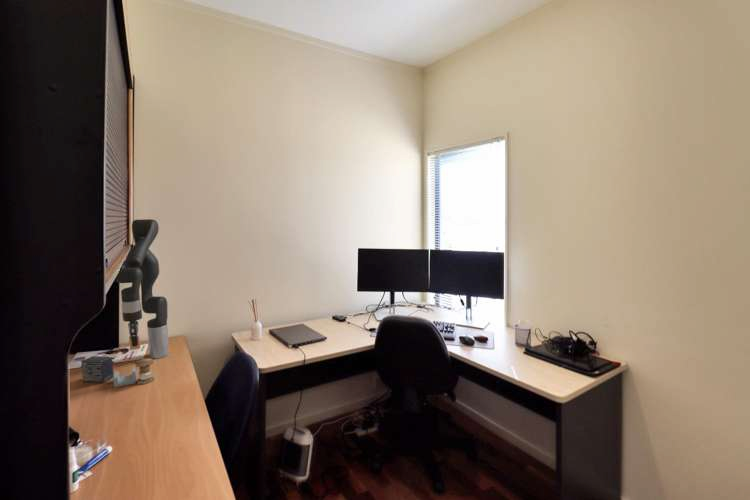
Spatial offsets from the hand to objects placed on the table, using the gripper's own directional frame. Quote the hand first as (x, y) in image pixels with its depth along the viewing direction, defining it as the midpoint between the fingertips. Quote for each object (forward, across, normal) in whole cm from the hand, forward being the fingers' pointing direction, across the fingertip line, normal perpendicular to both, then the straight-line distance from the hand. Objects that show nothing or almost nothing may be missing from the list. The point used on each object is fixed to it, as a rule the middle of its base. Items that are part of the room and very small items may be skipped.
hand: (135, 344), depth 170 cm
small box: (+17, -8, -16) cm, 24 cm away
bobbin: (+17, +5, +3) cm, 18 cm away
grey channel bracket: (+17, +1, -5) cm, 17 cm away
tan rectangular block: (+2, 0, 0) cm, 2 cm away
